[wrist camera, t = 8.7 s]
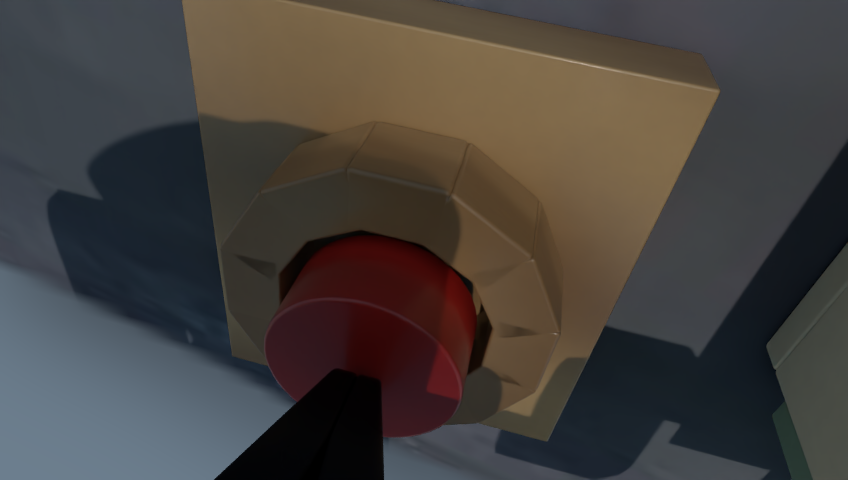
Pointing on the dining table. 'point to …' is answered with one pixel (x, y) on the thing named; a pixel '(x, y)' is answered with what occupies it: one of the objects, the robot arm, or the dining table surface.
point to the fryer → (818, 371)
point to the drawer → (790, 444)
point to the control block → (443, 167)
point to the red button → (378, 329)
